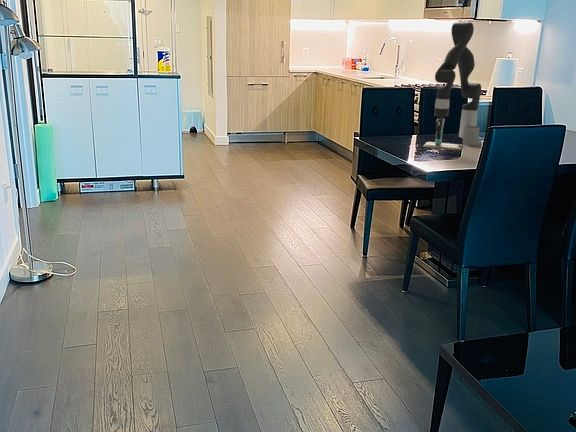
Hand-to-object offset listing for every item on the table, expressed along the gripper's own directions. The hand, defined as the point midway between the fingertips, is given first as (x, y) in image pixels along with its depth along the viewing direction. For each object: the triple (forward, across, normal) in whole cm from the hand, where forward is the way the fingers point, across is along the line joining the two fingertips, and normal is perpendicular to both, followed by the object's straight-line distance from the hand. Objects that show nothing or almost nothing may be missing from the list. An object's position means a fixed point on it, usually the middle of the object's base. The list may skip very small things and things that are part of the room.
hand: (438, 138), depth 313 cm
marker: (+4, 0, 0) cm, 4 cm away
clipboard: (+5, -3, +3) cm, 6 cm away
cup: (+5, -21, +16) cm, 27 cm away
